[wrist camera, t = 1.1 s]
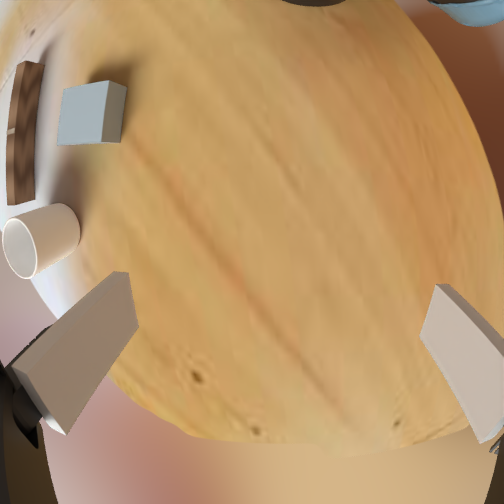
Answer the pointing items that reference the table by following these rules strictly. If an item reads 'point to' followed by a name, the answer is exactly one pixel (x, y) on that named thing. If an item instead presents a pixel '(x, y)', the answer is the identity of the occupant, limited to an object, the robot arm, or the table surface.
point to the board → (22, 133)
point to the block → (91, 114)
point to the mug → (40, 238)
